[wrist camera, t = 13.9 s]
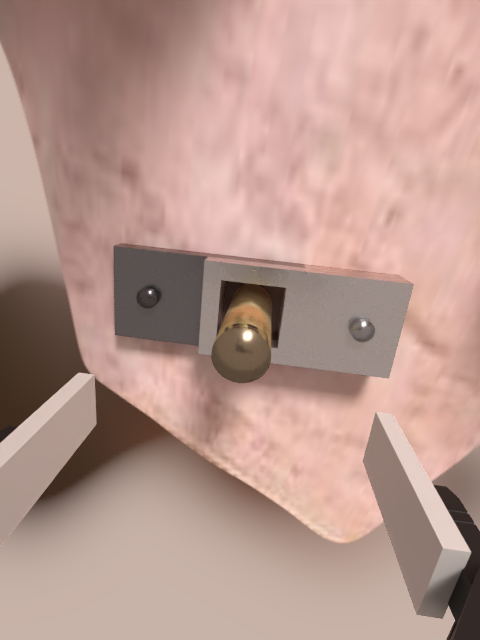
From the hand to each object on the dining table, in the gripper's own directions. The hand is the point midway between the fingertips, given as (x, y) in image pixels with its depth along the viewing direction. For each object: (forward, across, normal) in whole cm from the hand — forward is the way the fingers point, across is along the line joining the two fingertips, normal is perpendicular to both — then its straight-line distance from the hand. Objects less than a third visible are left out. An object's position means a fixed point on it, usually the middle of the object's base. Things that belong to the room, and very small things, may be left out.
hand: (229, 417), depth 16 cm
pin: (+20, 0, 0) cm, 20 cm away
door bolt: (+20, 0, 0) cm, 20 cm away
